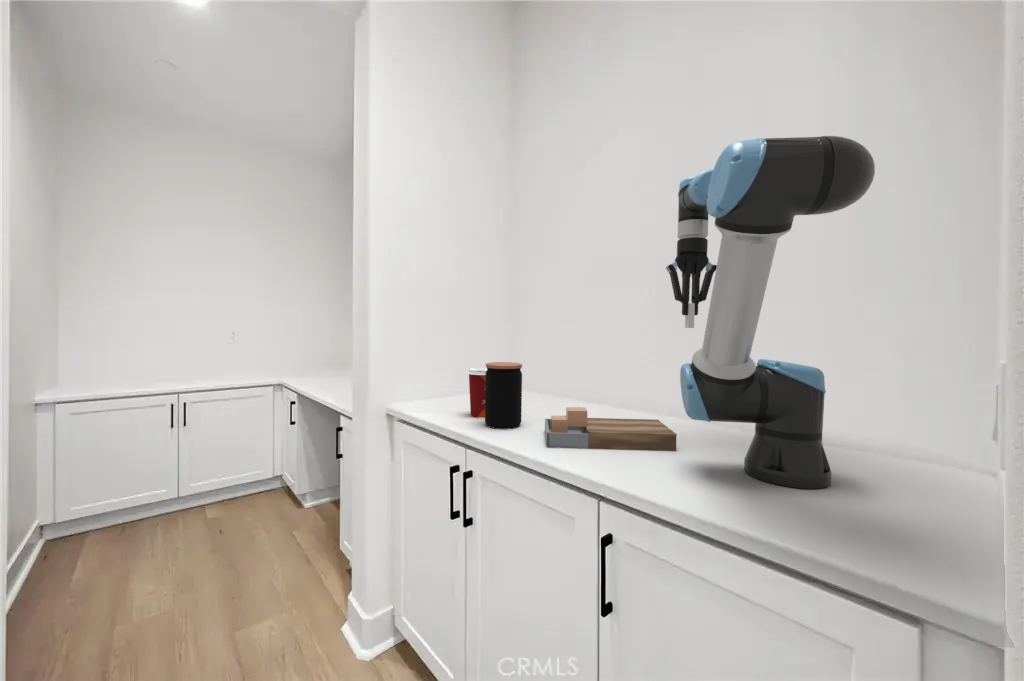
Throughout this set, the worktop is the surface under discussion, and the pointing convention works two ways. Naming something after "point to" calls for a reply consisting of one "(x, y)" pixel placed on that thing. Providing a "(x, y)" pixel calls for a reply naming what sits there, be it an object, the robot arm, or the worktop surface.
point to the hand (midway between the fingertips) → (689, 327)
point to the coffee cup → (477, 391)
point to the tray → (565, 437)
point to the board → (629, 434)
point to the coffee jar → (503, 394)
